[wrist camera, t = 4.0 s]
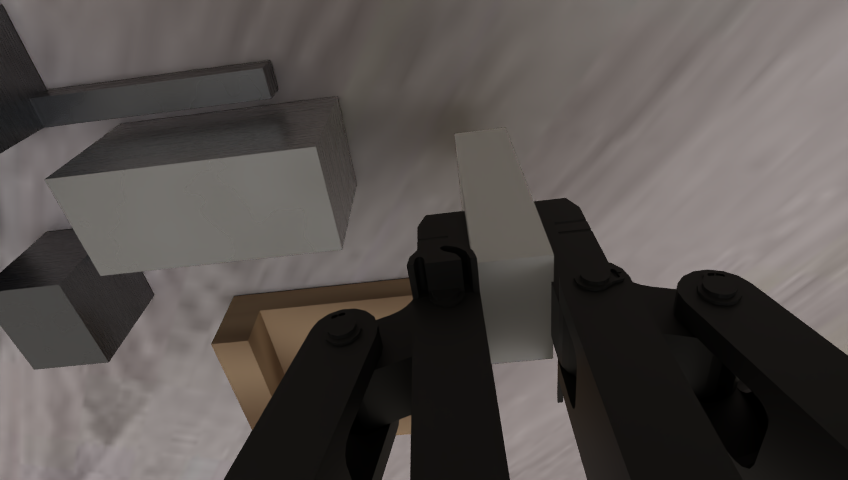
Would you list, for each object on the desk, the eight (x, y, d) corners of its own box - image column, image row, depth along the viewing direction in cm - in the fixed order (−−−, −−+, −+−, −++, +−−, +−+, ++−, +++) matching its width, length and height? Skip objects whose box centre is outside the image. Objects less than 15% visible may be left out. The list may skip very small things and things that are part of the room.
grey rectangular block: (120, 123, 19) (44, 179, 15) (337, 96, 18) (316, 146, 14) (159, 207, 21) (100, 275, 17) (356, 184, 20) (342, 249, 16)
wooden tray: (233, 296, 23) (211, 344, 21) (480, 270, 22) (488, 317, 20) (287, 425, 28) (274, 477, 25) (491, 407, 27) (498, 458, 25)
